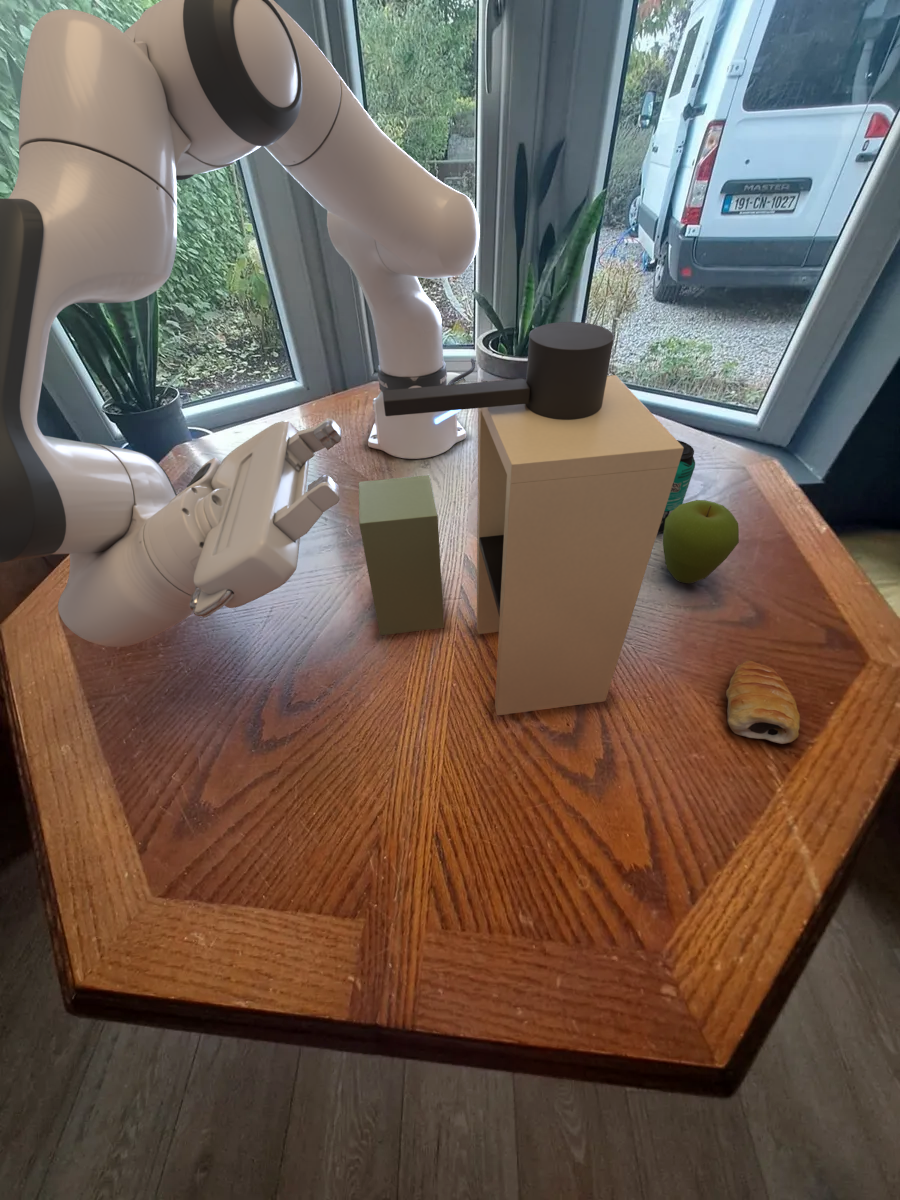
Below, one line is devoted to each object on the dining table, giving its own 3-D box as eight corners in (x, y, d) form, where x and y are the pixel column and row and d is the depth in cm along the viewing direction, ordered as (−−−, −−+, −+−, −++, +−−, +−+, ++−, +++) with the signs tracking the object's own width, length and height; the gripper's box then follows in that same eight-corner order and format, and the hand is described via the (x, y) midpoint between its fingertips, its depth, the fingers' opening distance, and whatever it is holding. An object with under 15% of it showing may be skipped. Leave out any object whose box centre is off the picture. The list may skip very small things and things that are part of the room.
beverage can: (630, 504, 83) (648, 433, 74) (676, 512, 81) (700, 440, 72) (624, 529, 78) (642, 456, 70) (673, 538, 76) (698, 465, 68)
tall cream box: (476, 627, 65) (478, 386, 44) (570, 616, 66) (616, 374, 45) (496, 715, 56) (511, 464, 35) (605, 701, 56) (684, 447, 35)
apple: (637, 566, 72) (658, 495, 64) (687, 551, 74) (713, 480, 66) (678, 607, 66) (706, 534, 58) (731, 589, 68) (766, 517, 60)
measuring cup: (384, 402, 42) (376, 336, 39) (587, 384, 43) (597, 319, 40) (387, 436, 38) (378, 366, 34) (613, 416, 39) (626, 345, 36)
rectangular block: (377, 591, 70) (358, 481, 58) (436, 585, 71) (429, 474, 59) (380, 635, 64) (359, 523, 52) (444, 628, 65) (437, 515, 53)
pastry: (718, 665, 59) (730, 643, 57) (783, 678, 58) (798, 656, 55) (725, 735, 53) (738, 715, 50) (798, 752, 52) (816, 731, 49)
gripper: (147, 601, 36) (297, 500, 32) (206, 455, 51) (314, 373, 47) (220, 647, 40) (362, 561, 36) (255, 499, 55) (359, 427, 51)
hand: (335, 454), depth 42 cm, fingers open, 8 cm apart
